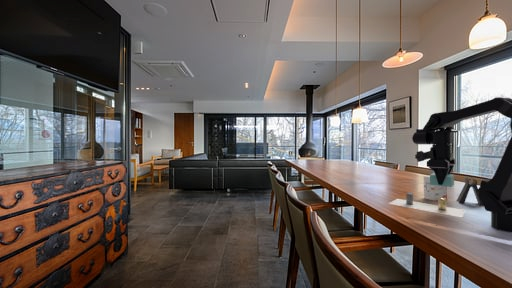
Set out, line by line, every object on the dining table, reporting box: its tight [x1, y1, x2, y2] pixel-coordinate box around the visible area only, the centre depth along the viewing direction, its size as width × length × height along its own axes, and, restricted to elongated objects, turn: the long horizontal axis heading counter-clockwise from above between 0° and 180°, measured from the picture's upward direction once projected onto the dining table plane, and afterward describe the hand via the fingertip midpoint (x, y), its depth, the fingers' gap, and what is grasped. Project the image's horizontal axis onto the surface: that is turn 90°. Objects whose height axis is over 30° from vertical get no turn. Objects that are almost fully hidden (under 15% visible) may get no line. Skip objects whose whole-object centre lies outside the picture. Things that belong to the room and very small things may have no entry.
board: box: [388, 192, 467, 218], centre depth 91 cm, size 12×24×6 cm, turn 41°
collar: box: [429, 172, 455, 188], centre depth 87 cm, size 6×6×4 cm
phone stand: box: [456, 176, 484, 207], centre depth 95 cm, size 9×6×12 cm, turn 53°
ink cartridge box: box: [423, 170, 448, 201], centre depth 103 cm, size 9×5×15 cm, turn 105°
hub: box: [437, 198, 448, 211], centre depth 87 cm, size 3×3×4 cm
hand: (442, 183), depth 87 cm, fingers closed on collar, 6 cm apart
